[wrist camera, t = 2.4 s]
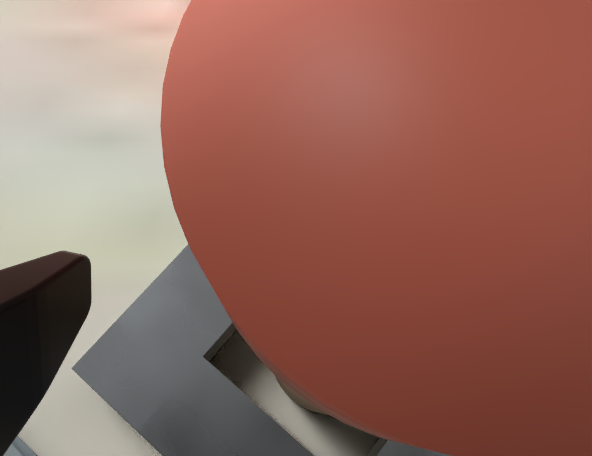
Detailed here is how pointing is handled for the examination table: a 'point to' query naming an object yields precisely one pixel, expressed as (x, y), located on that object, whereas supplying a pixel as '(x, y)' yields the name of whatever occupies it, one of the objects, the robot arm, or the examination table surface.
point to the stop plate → (187, 375)
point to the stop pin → (398, 208)
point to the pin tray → (19, 449)
